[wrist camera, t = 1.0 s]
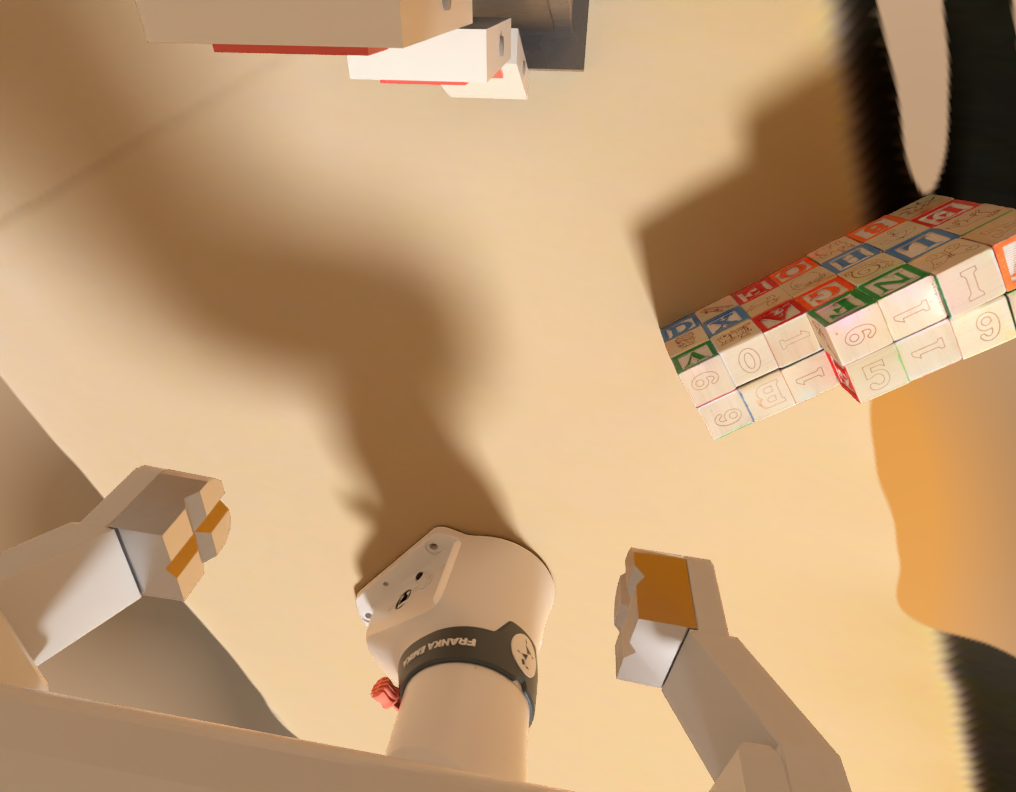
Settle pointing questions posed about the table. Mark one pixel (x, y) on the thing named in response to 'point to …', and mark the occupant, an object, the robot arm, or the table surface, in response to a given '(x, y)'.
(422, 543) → the robot arm
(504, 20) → the middle rocker
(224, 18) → the top rocker
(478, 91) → the bottom rocker
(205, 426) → the table surface
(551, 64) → the power strip
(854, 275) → the stack of blocks
